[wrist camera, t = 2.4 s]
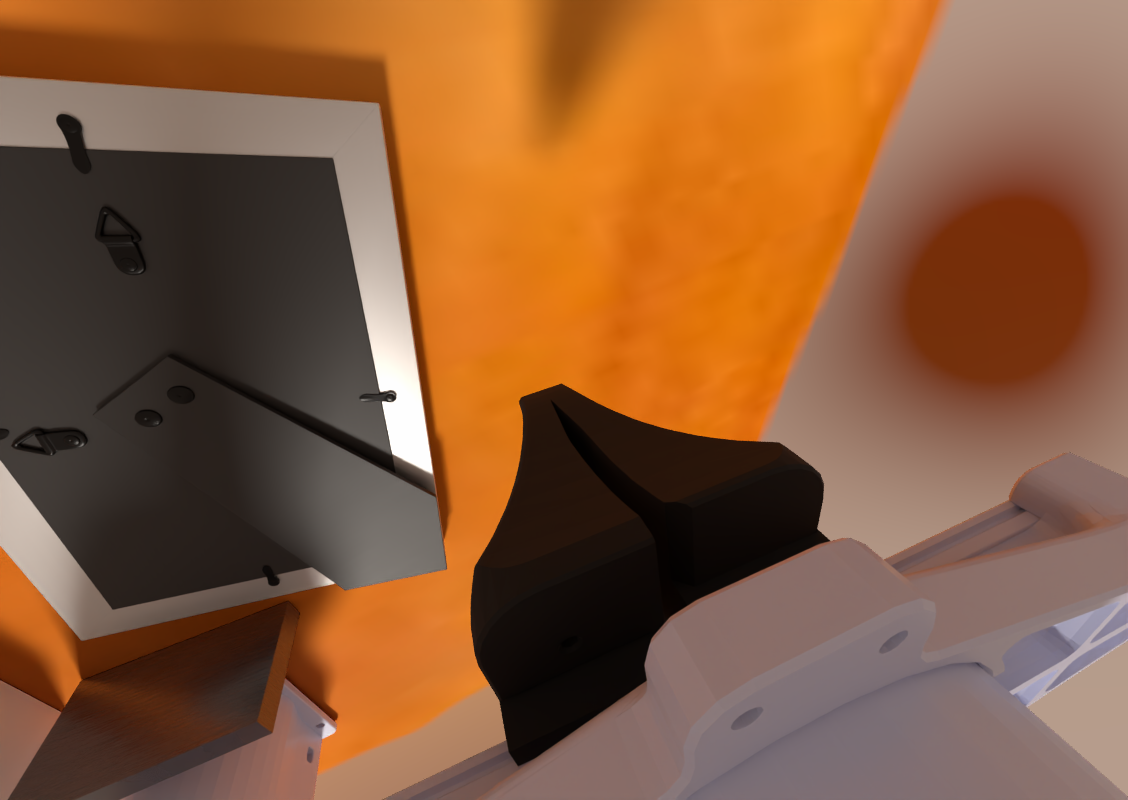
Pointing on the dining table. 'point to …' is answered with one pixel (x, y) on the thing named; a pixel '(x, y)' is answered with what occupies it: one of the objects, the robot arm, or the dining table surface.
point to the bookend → (165, 712)
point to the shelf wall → (20, 733)
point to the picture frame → (203, 352)
